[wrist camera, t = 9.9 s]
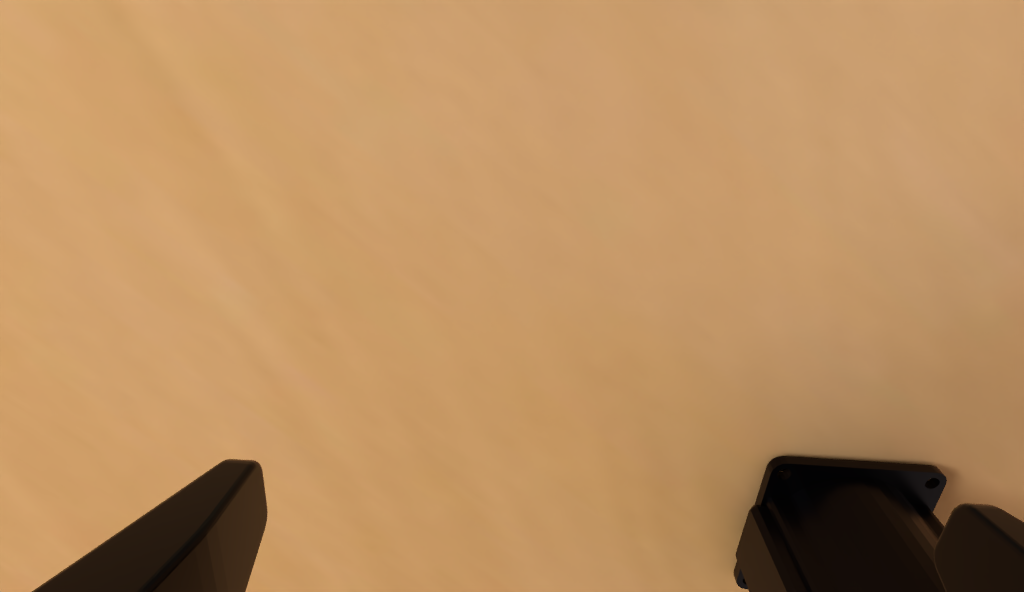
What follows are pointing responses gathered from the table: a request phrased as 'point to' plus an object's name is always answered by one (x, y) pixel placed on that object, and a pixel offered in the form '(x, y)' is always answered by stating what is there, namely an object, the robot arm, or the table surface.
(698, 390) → the table surface
